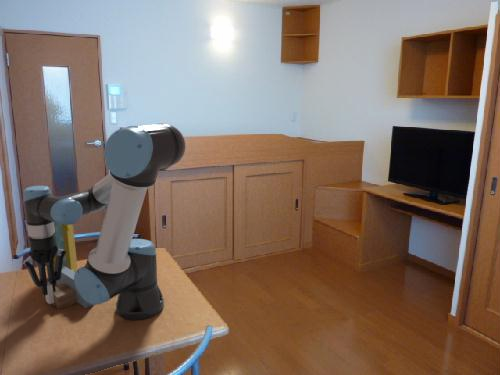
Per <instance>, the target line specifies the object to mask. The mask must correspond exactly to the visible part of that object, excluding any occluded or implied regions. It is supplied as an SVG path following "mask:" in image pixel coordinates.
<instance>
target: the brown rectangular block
mask: <svg viewBox="0 0 500 375" xmlns="http://www.w3.org/2000/svg"><path fill="white" fill-rule="evenodd" d="M55 288H56V291H55V292H53V295H54V303H52V304H51V305H52V306H54V307H55V308H57V310H61V309H63V308H66V307H68V306H70V305H73V304H75V303H78V302H77V300H76V291H75V290H74V289H72V288H71V287H69V286H68V285H66V284H65V283H63V284H60V285H55Z"/></svg>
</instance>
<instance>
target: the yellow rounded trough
mask: <svg viewBox="0 0 500 375" xmlns="http://www.w3.org/2000/svg"><path fill="white" fill-rule="evenodd" d="M54 227H55V232H54V234H55V236H56V246H57V247H58V249H63V250H64V251H66V253H65V256H64V258H63V264H62V266H63V265H64V266H65V267H67V268H69V269H70V270H72V271H74V272H76V271H77V270H78V269H77V268H78V261H77V251H76V244H75V243H76V241H75V232H74V224H72V225H67V224H60V223H56V222H54ZM56 256H57V254H56V255H55V257H54V259H53V261H54V264H53V266H54V270H55V262H56ZM55 286H57V281H56V284H55Z"/></svg>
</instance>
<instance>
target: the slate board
mask: <svg viewBox="0 0 500 375" xmlns="http://www.w3.org/2000/svg"><path fill="white" fill-rule="evenodd" d="M74 274H75V272H74V271H72V270H70V269H69V268H67V267H65V266H64V265H63V266H62V271H61V278H60V280H57V285H60V284H63V283H65V284H66V285H68V286H69V287H71V288H72V289H74V290H75V291H76V300H77V302H76V303H78V304H79V305H81V306H82V307H84V308H85V309H87V308H90V307H92V306H94V305H93V304H90V303H88V302H87V301H86V300H84V299H83V298H82V296H81V295H80V294H79V292H78V290H77V288H76V286H75V283H74ZM57 285H56V286H57Z"/></svg>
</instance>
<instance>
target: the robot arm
mask: <svg viewBox="0 0 500 375" xmlns="http://www.w3.org/2000/svg"><path fill="white" fill-rule="evenodd" d="M185 152H186V141H185V138H184V136H183V133H181V131H180V130H179V129H178V128H176V127H175V126H174V125H171V124H169V123H162V122H161V123H156V124H145V125H131V126H127V127H124V128H120V129H117V130H115V131H114V132H113V133H111V135H109V137H108V139H107V140H106V142H105V146H104V150H103V158H104V159H105V160H106V161H104V162H105V166H106V167H107V169H108V170H109V174H107V175H105V177H103V178H102V179H100V180H99V181H97V182H96V183H95V184H94V185H93V186H91V187H89V188H87V189H85V190H81V191H78V192H75V193H70V194H67V195H63V196H55V195H52V192H51V188H50V187H49V186H47V185H33V186H28V187H26V188H25V189H24V190H22V192H23V196H22V197H23V201H22V202H23V206H24V214H25V220H26V226H27V236H29V237H28V242H29V243H28V244H29V253H28V254H29V255H28V257H27V258H26V259H23V260H22V261H21V263H22V264H23V265H25V266H26V268H27V271H28V273H29V275H30V277H31V280H32V282H33V284H34V286H36V287H38V288H41V294H42V295H44V296H45V302H46V303H47V304H49V305H53V304H52V303H54V295H53V292H55V291H56V288H55V286H56V285H55V284H56V281H57V280H60V278H61V271H62V264H63V258H64V256H65V253H66V251H64V250H63V249H58V247H57V246H56V236H55V234H54V232H55V227H54V222H56V223H60V224H67V225H72V224H73V225H74V224H77V223H78V221H79V220H81V219H82V217H83V216H86V215H90V214H92V213H95V212H99V211H103V210H105V212H104V217H103V221H102V225H101V227H100V228H101V229H100V232H99V235H98V240H97V243H96V247H95V248H93V249H91V251H89V253H88V256H87V260H86V264H85V265H84V266H81V267H79V268H78V269H76V272H75V274H74V283H75V286H76V288H77V290H78V292H79V294H80V295H81V296H82V298H83V299H84V300H86V301H87V302H88V303H90V304H93V306H97V305H98V306H99V305H102V304H103V303H106V302H109V301H110V300H111V299H113V298H114V297H115V298H116V296H117V299H116V300H117V301H116V303H115V309H116V314H117V315H118V316H119V317H120V318H122V319H125V320H129V321H139V320H145V319H150V318H151V317H154V316H156V315H157V314H159V313H160V312H161V311H162V310H163V309H164V306H165V302H164V301H165V300H164V296H163V293H162V291H161V289H160V286H159V284H158V269H157V268H158V266H157V264H158V263H157V252H156V246H155V245H156V244H154V242H152V240H150V239H149V240H148V239H145V238H144V239H143V238H133V237H134V234H135V231H136V227H137V224H138V222H139V221H138V220H139V217H140V215H141V210H142V207H143V204H144V201H145V197H146V194H147V191H148V189H150V188H152V187H153V186H154V185H155V184H156V181H157V179H158V175H159V172H161V173H162V172H164V171H166V170H167V169H169V168H170V167H172V166H174V165H176V164H178V163H179V162H180V161H181V160H182V159H183V157H184V154H185ZM56 254H57V256H56V262H55V270H54V266H53V264H54V261H53V259H54V257H55V255H56ZM33 261H34V262H35V263H36V265H37V266H38V274H37V271H36V269H35V267H34V265H33V264H34V262H33ZM38 275H39V276H38Z"/></svg>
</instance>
